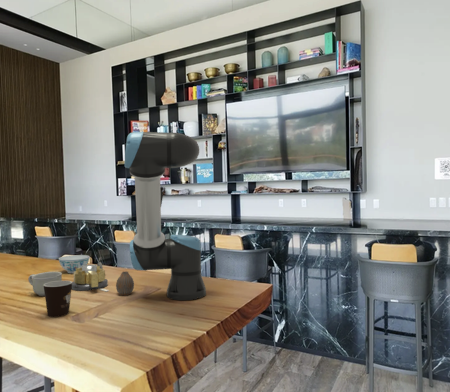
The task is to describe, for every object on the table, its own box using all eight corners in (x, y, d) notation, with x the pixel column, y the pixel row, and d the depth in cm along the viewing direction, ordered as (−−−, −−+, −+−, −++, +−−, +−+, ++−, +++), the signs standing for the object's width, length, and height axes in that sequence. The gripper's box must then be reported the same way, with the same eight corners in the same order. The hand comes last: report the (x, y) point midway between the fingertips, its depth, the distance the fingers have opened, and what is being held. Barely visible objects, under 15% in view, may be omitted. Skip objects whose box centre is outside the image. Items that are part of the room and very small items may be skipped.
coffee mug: (53, 319, 112) (53, 288, 112) (38, 315, 116) (38, 284, 116) (85, 309, 121) (85, 280, 122) (70, 306, 126) (70, 277, 126)
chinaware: (69, 268, 195) (69, 254, 195) (94, 269, 193) (94, 255, 193) (52, 274, 180) (52, 259, 180) (80, 275, 178) (79, 259, 178)
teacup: (67, 292, 146) (67, 272, 146) (44, 299, 136) (44, 278, 136) (44, 289, 151) (44, 270, 152) (20, 295, 142) (20, 275, 142)
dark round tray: (104, 289, 148) (104, 268, 148) (66, 291, 146) (66, 269, 146) (110, 281, 163) (110, 262, 163) (75, 283, 161) (75, 263, 161)
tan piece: (72, 279, 157) (72, 267, 157) (101, 276, 163) (101, 264, 163) (78, 289, 140) (78, 275, 140) (110, 284, 146) (110, 272, 146)
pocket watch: (81, 279, 169) (81, 258, 169) (94, 275, 177) (94, 255, 177) (95, 280, 166) (95, 259, 166) (107, 276, 173) (107, 256, 174)
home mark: (109, 291, 146) (109, 290, 146) (106, 291, 145) (106, 291, 145) (102, 289, 149) (102, 288, 149) (99, 289, 148) (99, 289, 148)
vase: (129, 296, 137) (128, 274, 137) (112, 296, 139) (112, 273, 139) (137, 292, 144) (136, 270, 144) (121, 291, 145) (121, 270, 146)
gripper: (168, 172, 165) (169, 223, 165) (144, 173, 170) (144, 222, 170) (160, 171, 158) (160, 224, 158) (134, 172, 163) (135, 224, 163)
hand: (152, 223), depth 164 cm, fingers closed
